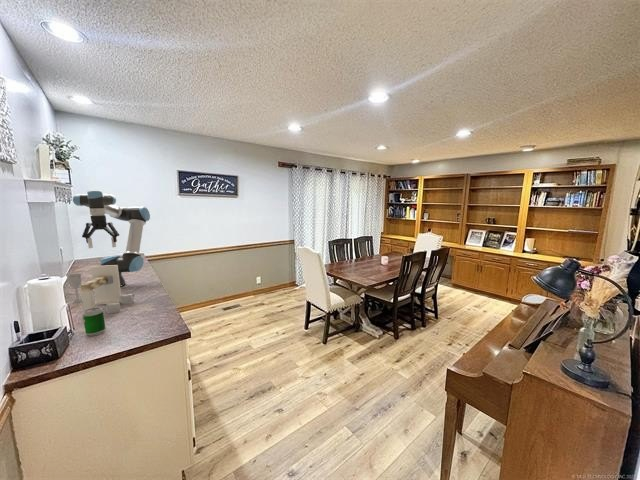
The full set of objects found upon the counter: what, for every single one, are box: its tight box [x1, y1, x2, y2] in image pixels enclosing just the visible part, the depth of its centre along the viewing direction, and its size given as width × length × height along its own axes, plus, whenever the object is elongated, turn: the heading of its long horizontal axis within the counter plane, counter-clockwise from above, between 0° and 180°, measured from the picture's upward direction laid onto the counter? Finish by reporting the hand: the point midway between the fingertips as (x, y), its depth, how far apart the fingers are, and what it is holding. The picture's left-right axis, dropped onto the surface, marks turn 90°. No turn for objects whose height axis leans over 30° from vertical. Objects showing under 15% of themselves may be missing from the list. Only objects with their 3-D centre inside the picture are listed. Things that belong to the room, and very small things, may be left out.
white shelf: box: [80, 265, 122, 313], centre depth 159 cm, size 20×14×24 cm
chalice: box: [66, 272, 83, 304], centre depth 170 cm, size 7×7×18 cm
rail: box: [79, 276, 108, 292], centre depth 157 cm, size 18×4×4 cm, turn 10°
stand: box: [105, 293, 135, 314], centre depth 161 cm, size 18×6×5 cm, turn 10°
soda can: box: [82, 306, 106, 337], centre depth 129 cm, size 8×8×12 cm
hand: (102, 247), depth 173 cm, fingers open, 13 cm apart
